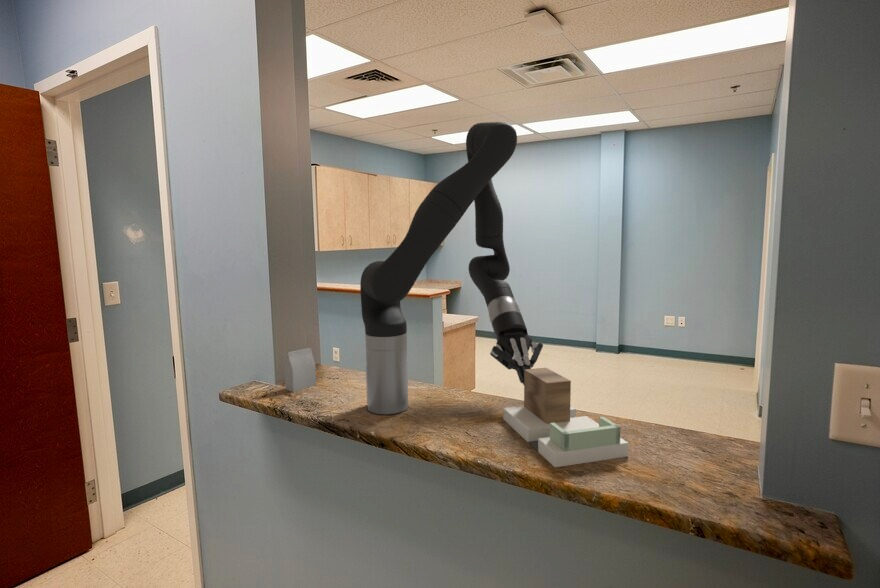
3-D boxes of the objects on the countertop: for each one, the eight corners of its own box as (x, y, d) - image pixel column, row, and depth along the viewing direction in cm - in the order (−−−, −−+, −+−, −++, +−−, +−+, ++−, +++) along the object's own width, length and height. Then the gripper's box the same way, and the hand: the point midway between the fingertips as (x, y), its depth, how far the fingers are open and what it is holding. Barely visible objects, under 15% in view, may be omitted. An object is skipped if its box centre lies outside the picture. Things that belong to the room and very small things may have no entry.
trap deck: (503, 419, 98) (503, 394, 97) (563, 412, 102) (563, 387, 101) (554, 467, 77) (555, 435, 76) (628, 456, 80) (629, 425, 80)
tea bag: (316, 386, 123) (314, 348, 122) (293, 392, 118) (291, 353, 117) (308, 383, 125) (306, 347, 124) (285, 389, 120) (283, 351, 119)
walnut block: (524, 406, 98) (524, 369, 98) (545, 404, 100) (546, 367, 99) (546, 424, 89) (547, 383, 88) (570, 421, 90) (570, 380, 89)
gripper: (484, 311, 108) (505, 377, 97) (536, 308, 111) (562, 372, 101) (476, 329, 113) (495, 394, 103) (526, 326, 117) (549, 388, 106)
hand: (528, 383), depth 102 cm, fingers closed
